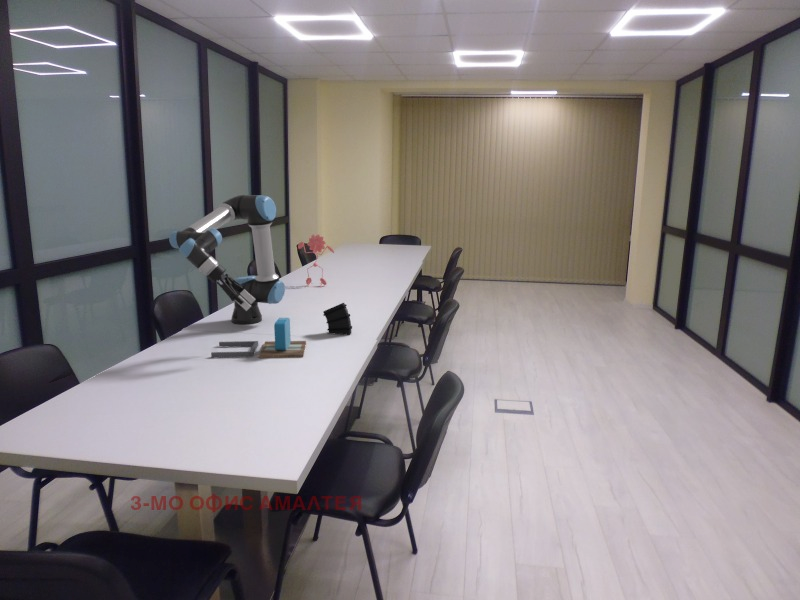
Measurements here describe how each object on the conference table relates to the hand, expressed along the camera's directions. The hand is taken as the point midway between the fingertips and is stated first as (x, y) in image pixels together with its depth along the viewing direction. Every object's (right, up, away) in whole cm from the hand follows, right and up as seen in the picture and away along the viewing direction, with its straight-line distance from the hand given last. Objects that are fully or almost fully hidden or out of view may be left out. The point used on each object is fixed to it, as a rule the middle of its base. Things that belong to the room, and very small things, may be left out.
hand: (251, 305), depth 240 cm
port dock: (+13, -20, +5) cm, 24 cm away
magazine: (+33, -14, +33) cm, 49 cm away
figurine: (+6, +12, +152) cm, 153 cm away
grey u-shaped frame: (-8, -20, +3) cm, 21 cm away
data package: (+12, -18, +5) cm, 23 cm away
